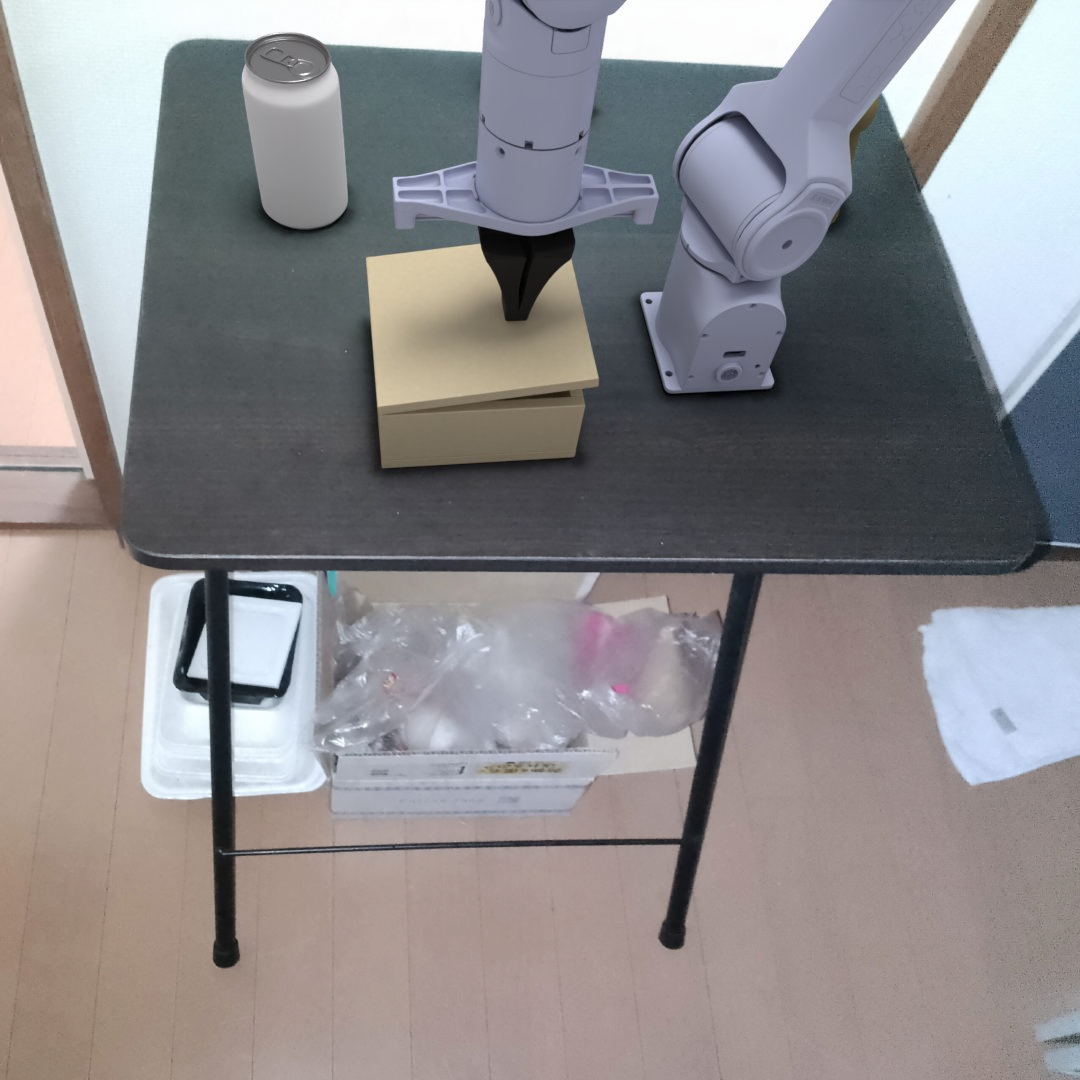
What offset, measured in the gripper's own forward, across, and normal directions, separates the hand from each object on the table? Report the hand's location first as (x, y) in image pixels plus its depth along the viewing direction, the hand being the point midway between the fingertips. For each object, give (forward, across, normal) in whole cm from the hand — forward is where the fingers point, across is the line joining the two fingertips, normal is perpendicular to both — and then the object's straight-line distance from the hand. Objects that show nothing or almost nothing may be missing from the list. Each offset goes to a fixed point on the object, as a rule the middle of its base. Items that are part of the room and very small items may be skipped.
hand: (514, 309), depth 62 cm
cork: (+8, -27, -18) cm, 33 cm away
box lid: (+1, +2, 0) cm, 3 cm away
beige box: (+7, +2, 0) cm, 8 cm away
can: (+8, +13, -19) cm, 24 cm away
